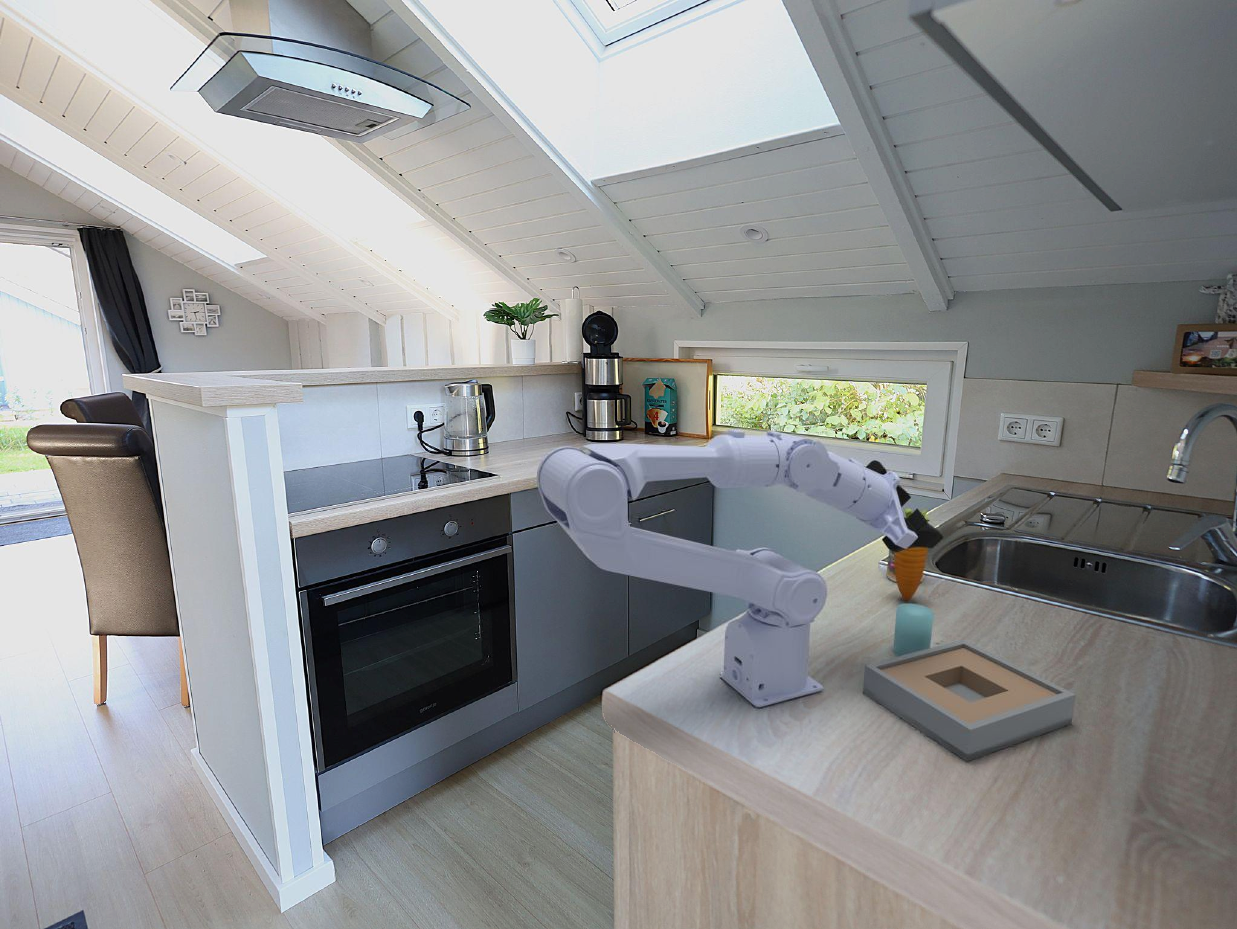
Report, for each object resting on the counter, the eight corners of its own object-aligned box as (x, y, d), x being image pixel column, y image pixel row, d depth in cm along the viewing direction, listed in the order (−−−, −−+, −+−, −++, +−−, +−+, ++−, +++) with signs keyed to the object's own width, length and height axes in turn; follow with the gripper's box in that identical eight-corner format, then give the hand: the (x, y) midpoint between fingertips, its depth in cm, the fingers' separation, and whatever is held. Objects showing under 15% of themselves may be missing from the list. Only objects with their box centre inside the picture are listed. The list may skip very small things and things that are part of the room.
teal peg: (911, 663, 86) (916, 619, 85) (885, 649, 90) (889, 606, 88) (936, 657, 87) (941, 614, 86) (910, 642, 91) (914, 601, 90)
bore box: (966, 761, 66) (970, 729, 66) (862, 692, 79) (865, 665, 78) (1071, 723, 73) (1075, 694, 72) (959, 665, 85) (962, 639, 85)
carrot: (917, 595, 108) (926, 504, 105) (928, 607, 103) (938, 513, 100) (885, 593, 108) (893, 503, 105) (894, 606, 103) (903, 512, 100)
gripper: (900, 501, 72) (977, 537, 78) (841, 427, 84) (912, 463, 90) (856, 546, 75) (933, 577, 81) (805, 468, 87) (876, 501, 93)
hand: (920, 520), depth 86 cm, fingers open, 7 cm apart
